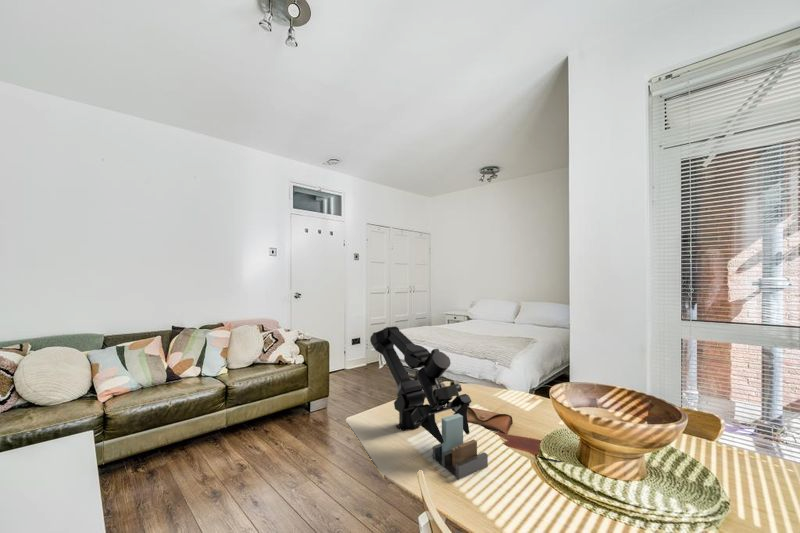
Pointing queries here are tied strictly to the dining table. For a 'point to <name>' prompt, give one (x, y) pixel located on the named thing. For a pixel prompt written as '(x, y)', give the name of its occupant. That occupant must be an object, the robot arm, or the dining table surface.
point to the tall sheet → (452, 432)
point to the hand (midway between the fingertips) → (455, 438)
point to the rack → (462, 467)
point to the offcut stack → (464, 452)
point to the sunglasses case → (490, 419)
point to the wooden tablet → (521, 443)
